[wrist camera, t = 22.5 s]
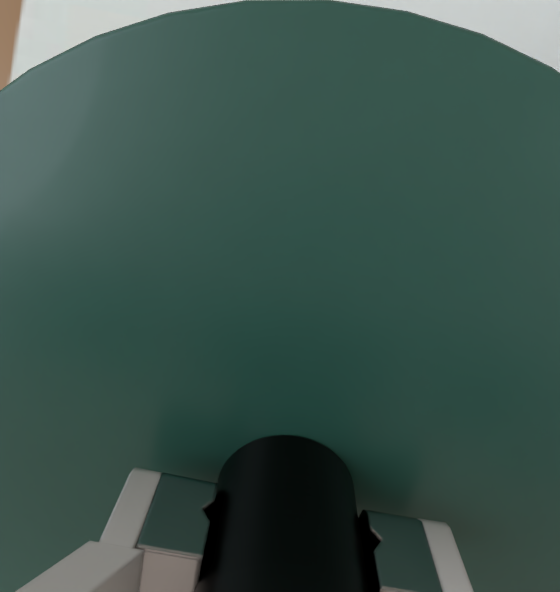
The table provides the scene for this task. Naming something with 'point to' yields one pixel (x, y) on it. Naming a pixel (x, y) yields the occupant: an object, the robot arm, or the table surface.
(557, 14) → the table surface
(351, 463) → the lid
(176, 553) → the robot arm
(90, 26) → the table surface
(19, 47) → the table surface
